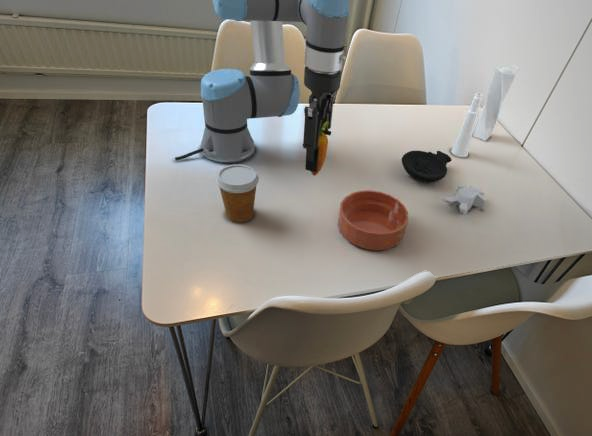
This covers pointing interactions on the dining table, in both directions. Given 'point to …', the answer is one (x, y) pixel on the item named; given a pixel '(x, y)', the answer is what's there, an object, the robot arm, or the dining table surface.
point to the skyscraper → (494, 101)
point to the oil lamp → (426, 165)
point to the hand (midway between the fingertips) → (315, 164)
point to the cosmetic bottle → (467, 128)
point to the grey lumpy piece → (467, 198)
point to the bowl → (372, 219)
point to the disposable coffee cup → (238, 191)
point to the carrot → (322, 148)
